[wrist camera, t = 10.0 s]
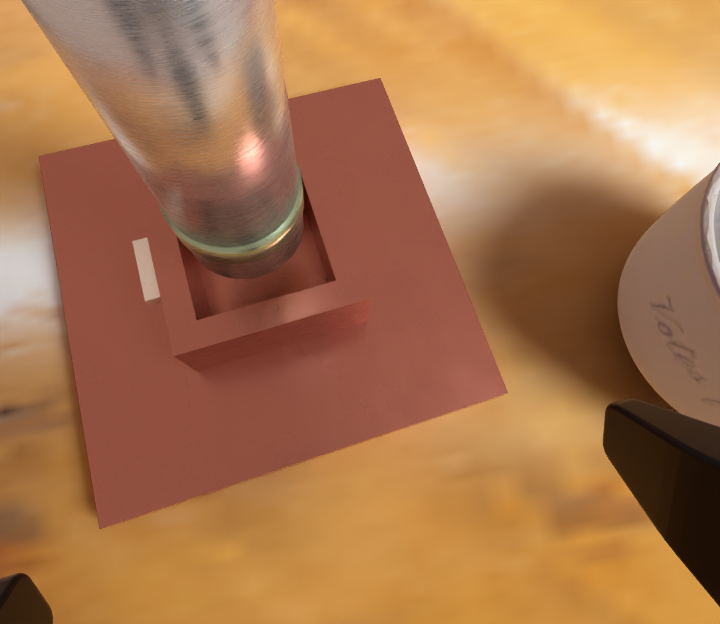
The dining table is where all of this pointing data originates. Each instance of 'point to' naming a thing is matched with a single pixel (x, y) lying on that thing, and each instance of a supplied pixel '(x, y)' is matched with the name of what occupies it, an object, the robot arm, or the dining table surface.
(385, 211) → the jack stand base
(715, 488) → the robot arm
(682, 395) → the teacup
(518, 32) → the dining table surface
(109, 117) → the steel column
